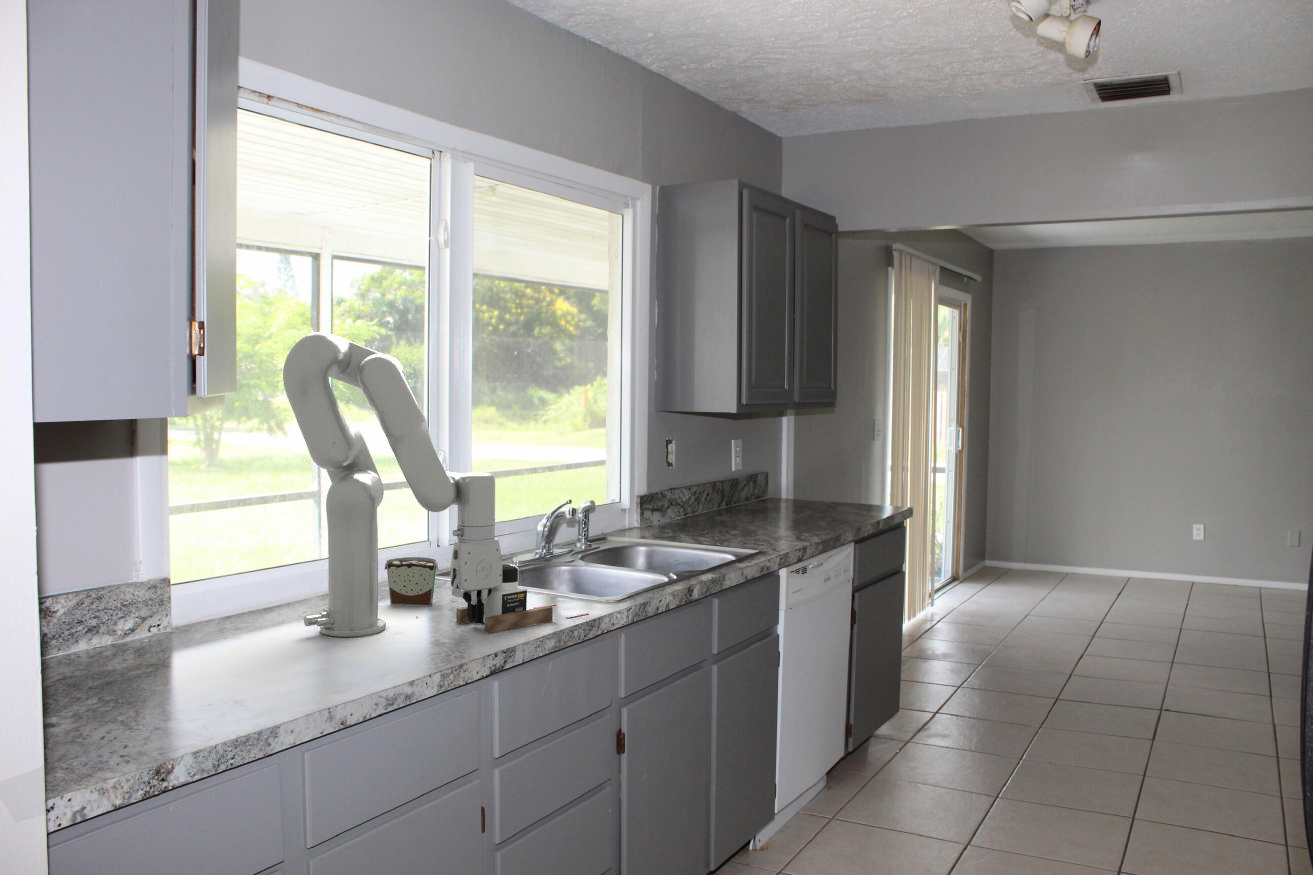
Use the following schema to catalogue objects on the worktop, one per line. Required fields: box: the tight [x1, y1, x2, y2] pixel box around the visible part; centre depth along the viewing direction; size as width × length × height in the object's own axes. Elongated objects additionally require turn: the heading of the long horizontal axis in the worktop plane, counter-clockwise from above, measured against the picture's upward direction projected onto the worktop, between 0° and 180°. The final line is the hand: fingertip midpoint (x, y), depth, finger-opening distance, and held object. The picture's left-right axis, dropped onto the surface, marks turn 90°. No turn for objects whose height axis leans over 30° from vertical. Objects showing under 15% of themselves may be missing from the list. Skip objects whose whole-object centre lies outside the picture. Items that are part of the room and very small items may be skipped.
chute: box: [455, 606, 554, 635], centre depth 200 cm, size 16×12×3 cm
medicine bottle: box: [483, 563, 528, 624], centre depth 200 cm, size 7×7×12 cm
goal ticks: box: [533, 603, 590, 619], centre depth 211 cm, size 6×12×1 cm, turn 44°
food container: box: [384, 556, 440, 607], centre depth 217 cm, size 12×6×10 cm, turn 84°
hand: (475, 621), depth 195 cm, fingers closed
